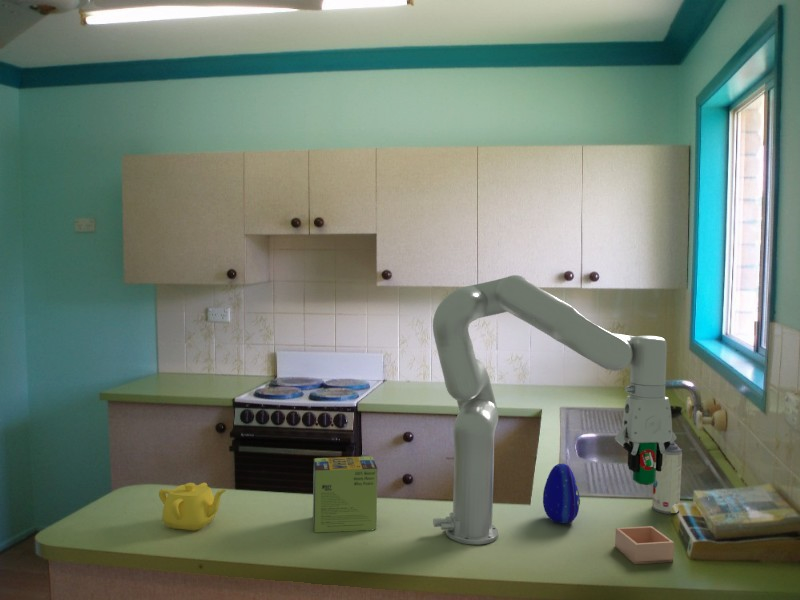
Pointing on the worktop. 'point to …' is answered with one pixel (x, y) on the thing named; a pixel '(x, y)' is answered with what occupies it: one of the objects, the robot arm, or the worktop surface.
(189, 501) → the teapot
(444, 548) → the worktop surface
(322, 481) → the protein box
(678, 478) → the aerosol can
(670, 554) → the box
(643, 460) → the soda can
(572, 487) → the ornament
